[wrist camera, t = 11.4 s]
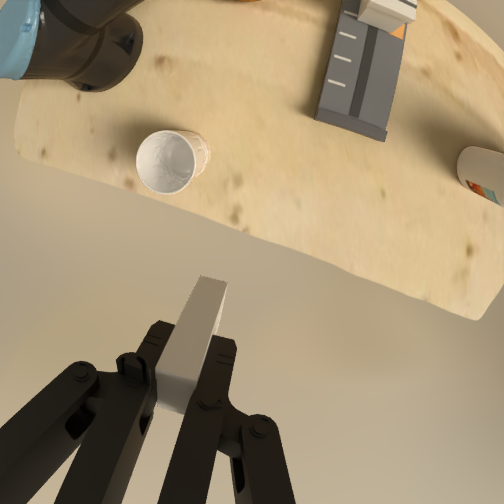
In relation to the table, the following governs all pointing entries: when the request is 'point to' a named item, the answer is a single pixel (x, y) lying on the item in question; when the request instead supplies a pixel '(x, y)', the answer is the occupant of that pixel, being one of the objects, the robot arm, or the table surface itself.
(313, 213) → the table surface
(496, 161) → the milk bottle
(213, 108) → the table surface
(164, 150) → the white cup
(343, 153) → the table surface
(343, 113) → the slider console
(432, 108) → the table surface
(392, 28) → the fader knob
